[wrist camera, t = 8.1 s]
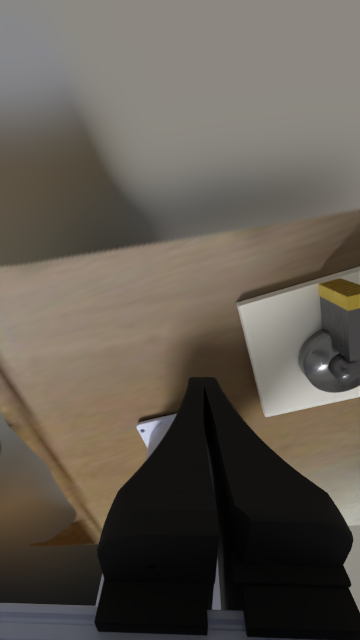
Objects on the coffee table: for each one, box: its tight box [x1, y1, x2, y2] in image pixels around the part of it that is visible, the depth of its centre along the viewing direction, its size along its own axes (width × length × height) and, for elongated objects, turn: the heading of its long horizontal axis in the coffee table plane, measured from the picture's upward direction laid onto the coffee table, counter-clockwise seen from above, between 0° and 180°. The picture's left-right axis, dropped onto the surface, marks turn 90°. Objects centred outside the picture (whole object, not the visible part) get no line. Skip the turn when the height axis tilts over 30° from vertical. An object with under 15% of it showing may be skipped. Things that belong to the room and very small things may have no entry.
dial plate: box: [236, 266, 360, 417], centre depth 21 cm, size 13×14×1 cm
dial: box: [298, 278, 360, 393], centre depth 18 cm, size 10×6×4 cm, turn 17°
